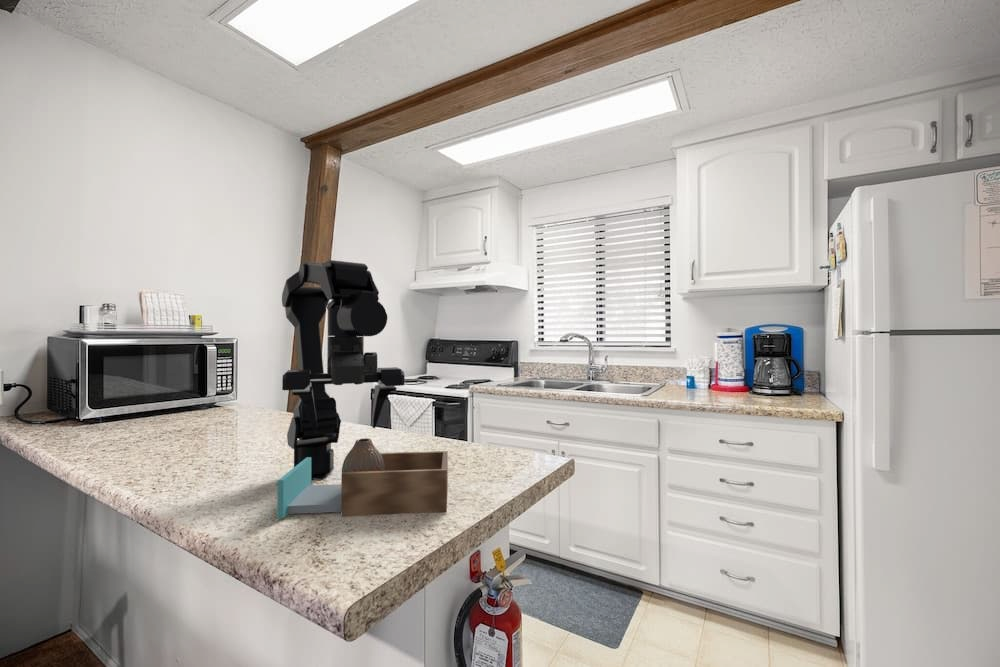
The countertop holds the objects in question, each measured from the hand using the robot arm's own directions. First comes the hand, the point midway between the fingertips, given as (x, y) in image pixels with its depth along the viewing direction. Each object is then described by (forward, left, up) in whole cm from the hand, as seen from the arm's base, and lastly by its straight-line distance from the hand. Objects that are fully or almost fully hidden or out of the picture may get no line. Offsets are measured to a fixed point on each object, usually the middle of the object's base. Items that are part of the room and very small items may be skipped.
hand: (345, 429), depth 73 cm
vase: (+3, 0, -11) cm, 11 cm away
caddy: (+9, 0, -12) cm, 15 cm away
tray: (0, 0, -12) cm, 12 cm away
